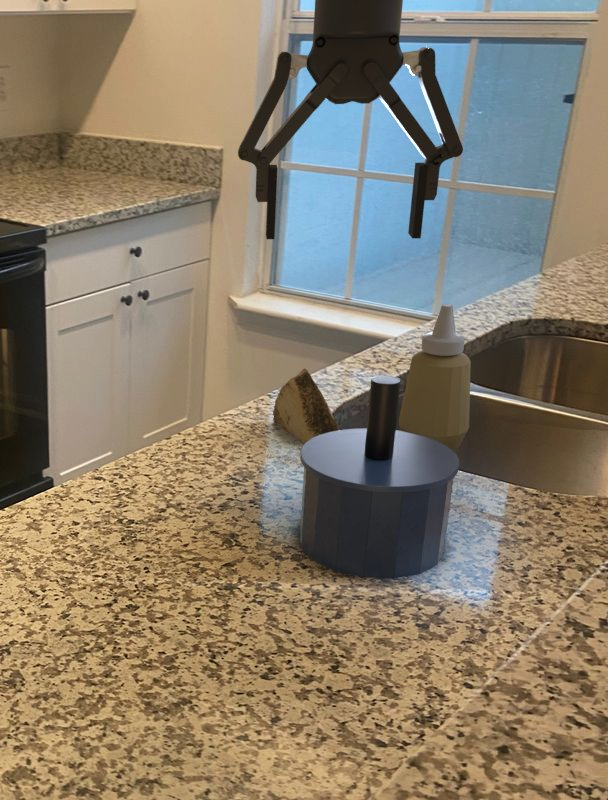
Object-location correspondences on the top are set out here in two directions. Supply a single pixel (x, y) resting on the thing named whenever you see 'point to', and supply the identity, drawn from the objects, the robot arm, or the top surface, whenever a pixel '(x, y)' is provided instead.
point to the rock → (303, 408)
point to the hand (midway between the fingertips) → (341, 236)
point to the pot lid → (380, 451)
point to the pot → (373, 528)
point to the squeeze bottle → (438, 386)
